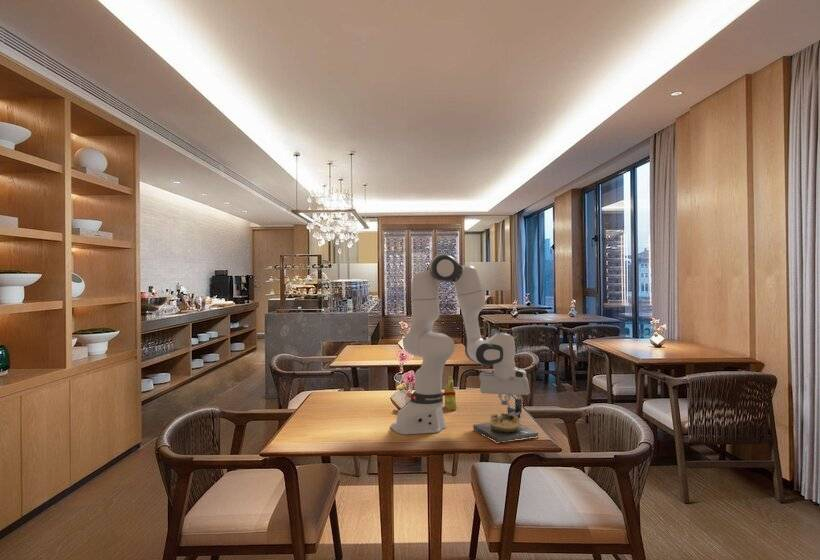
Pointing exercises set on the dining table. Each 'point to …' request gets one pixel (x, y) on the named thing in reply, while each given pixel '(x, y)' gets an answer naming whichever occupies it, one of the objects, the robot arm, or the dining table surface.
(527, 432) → the plate
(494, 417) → the ball knob lever
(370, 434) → the dining table surface
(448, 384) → the chocolate bunny
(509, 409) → the watch
